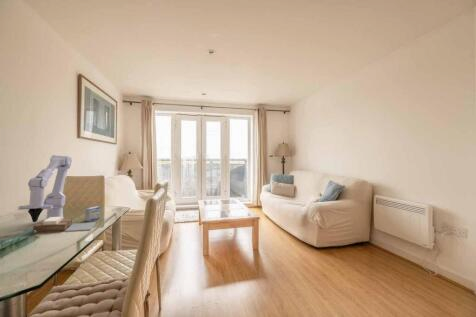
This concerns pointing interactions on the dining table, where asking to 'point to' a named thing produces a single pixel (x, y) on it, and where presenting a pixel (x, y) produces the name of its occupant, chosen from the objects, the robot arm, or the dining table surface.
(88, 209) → the medicine box
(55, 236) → the dining table surface
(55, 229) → the brown wooden tray
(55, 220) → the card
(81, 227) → the mat
